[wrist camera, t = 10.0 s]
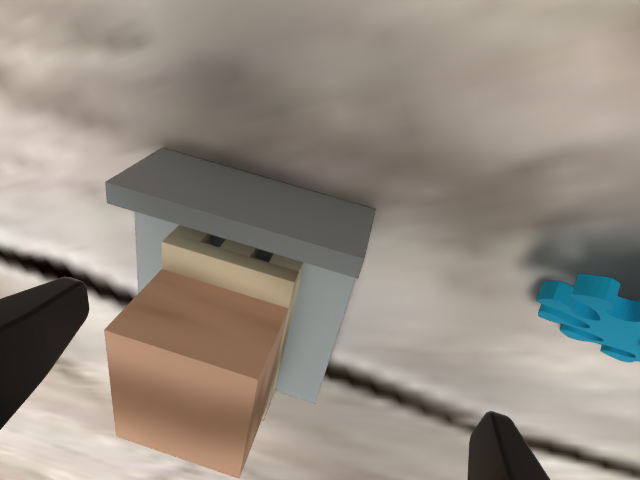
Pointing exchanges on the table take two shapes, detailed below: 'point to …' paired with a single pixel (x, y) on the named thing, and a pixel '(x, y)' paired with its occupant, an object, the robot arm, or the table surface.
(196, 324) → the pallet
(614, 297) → the gear
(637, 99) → the table surface
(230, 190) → the dock
